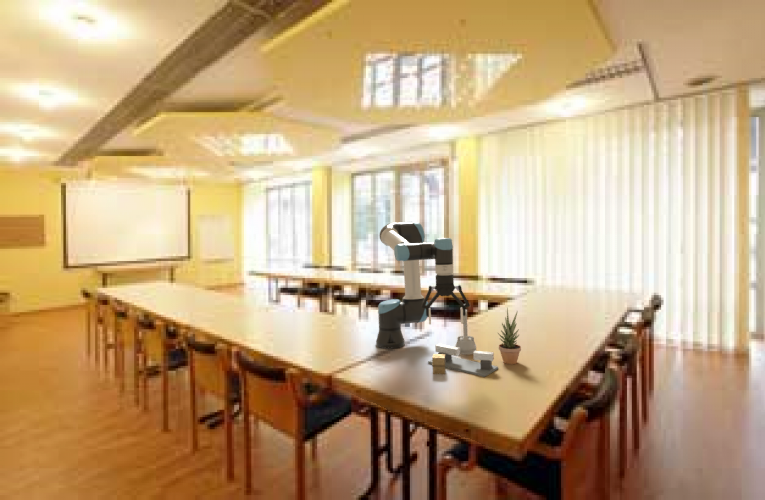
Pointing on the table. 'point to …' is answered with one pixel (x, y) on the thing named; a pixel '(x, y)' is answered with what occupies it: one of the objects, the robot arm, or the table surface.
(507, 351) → the potted plant
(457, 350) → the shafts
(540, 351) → the table surface
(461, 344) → the engine component
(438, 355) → the tan cardboard block
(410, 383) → the table surface
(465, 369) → the shaft bench
